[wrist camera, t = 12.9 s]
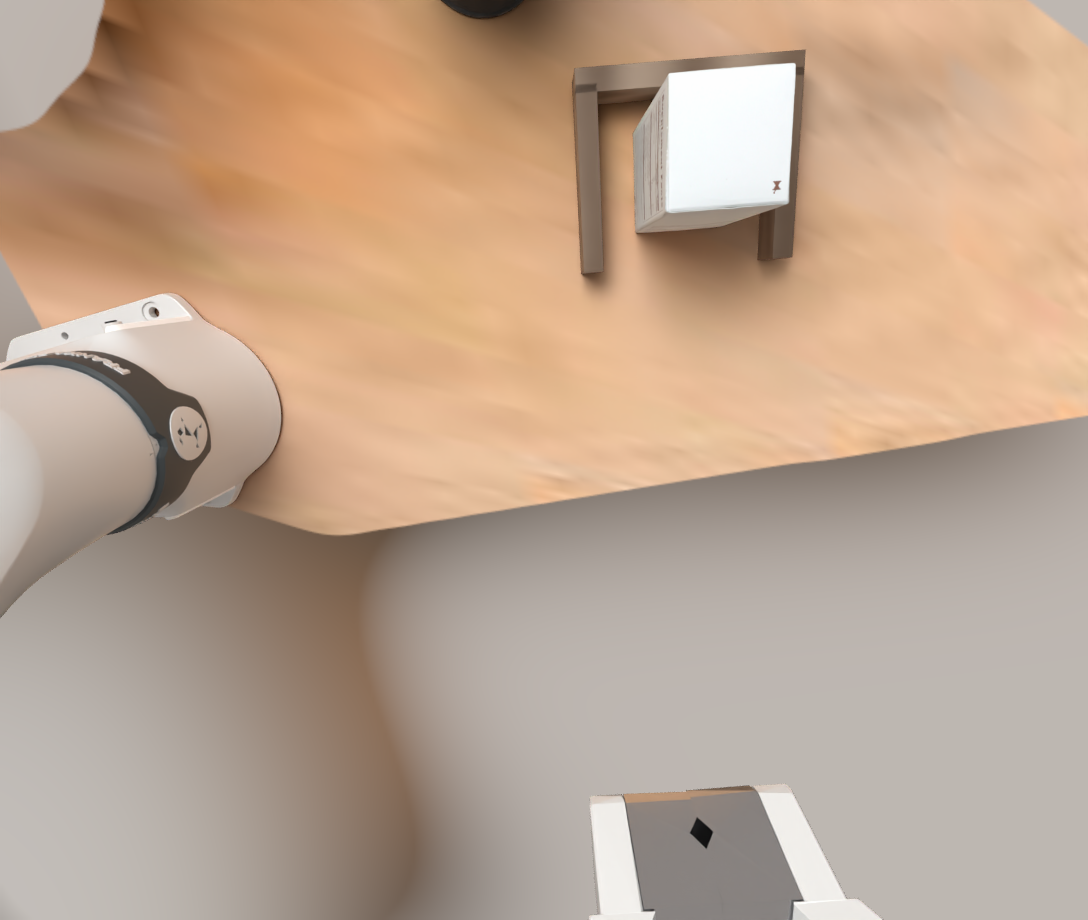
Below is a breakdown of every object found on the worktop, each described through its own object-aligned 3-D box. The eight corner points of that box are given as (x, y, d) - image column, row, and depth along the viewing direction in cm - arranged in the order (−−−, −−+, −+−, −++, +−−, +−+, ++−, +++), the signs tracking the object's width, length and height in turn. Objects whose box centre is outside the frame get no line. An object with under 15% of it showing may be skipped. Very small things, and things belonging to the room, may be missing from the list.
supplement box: (726, 124, 42) (803, 58, 30) (722, 228, 44) (792, 207, 32) (630, 130, 42) (667, 67, 30) (631, 234, 44) (666, 215, 32)
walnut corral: (581, 273, 45) (584, 273, 42) (572, 83, 41) (574, 68, 38) (775, 258, 45) (792, 257, 42) (786, 66, 40) (805, 49, 38)
